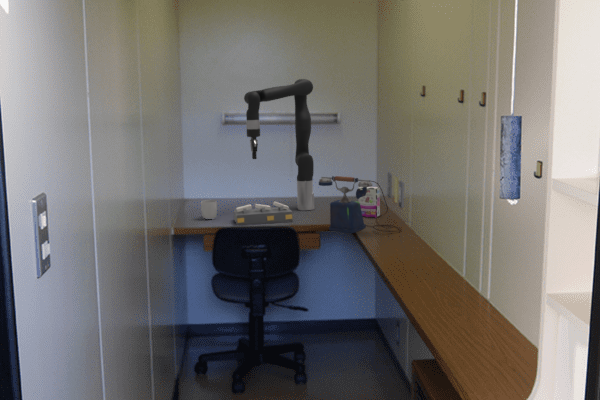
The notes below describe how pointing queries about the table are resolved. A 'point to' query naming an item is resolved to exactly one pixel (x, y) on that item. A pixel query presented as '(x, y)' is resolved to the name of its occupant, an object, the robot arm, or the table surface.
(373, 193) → the candy bar box
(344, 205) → the rotary telephone
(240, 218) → the switch unit
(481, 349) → the table surface
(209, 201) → the mug
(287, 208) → the plate
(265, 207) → the rocker middle
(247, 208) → the rocker
